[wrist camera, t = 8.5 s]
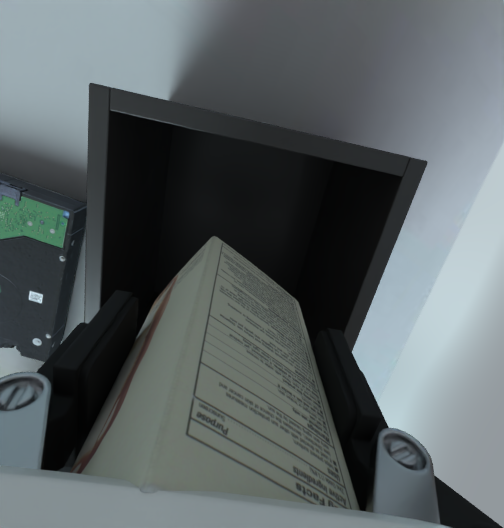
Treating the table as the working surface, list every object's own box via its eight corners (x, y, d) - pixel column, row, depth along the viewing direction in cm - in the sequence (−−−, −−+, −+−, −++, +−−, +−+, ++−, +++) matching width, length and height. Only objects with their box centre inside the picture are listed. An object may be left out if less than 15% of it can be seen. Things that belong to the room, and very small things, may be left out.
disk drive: (65, 344, 32) (91, 201, 26) (49, 364, 29) (74, 209, 24) (-49, 312, 30) (-47, 153, 25) (-77, 330, 28) (-82, 157, 22)
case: (165, 104, 24) (88, 82, 12) (346, 146, 25) (428, 161, 13) (146, 293, 29) (82, 397, 18) (293, 319, 31) (319, 433, 19)
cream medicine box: (151, 301, 14) (-26, 613, 5) (215, 230, 13) (133, 469, 4) (240, 365, 16) (226, 703, 6) (305, 305, 15) (403, 616, 5)
